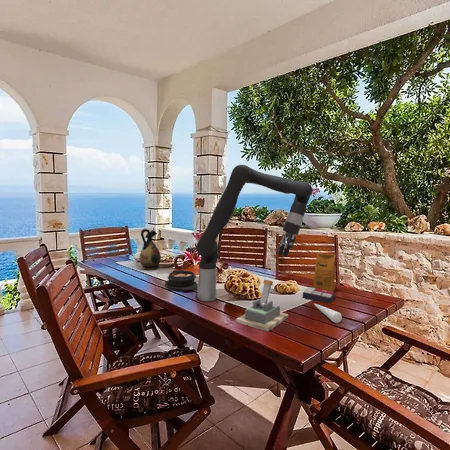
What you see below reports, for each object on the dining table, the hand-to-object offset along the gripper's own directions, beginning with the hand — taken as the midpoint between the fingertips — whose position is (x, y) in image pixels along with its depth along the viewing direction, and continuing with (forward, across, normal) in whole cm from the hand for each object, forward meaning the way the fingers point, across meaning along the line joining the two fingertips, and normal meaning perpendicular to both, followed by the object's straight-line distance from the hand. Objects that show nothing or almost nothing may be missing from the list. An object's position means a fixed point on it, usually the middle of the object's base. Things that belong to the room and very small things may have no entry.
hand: (282, 255), depth 154 cm
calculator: (+15, -22, +34) cm, 43 cm away
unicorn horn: (+20, +1, +29) cm, 35 cm away
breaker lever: (+24, +6, -3) cm, 25 cm away
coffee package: (+10, -36, +42) cm, 56 cm away
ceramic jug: (+40, -96, -63) cm, 122 cm away
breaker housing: (+29, +5, -1) cm, 30 cm away
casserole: (+38, -48, -38) cm, 72 cm away
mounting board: (+30, +5, 0) cm, 31 cm away
